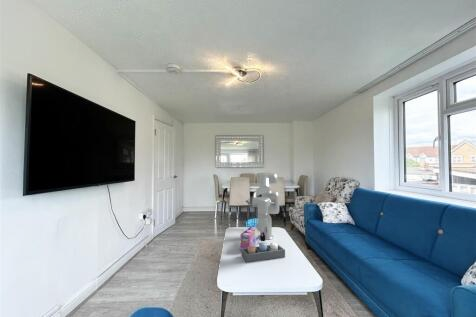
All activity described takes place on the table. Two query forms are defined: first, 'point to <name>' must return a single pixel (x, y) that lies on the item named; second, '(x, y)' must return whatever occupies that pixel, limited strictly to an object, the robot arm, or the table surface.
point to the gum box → (250, 237)
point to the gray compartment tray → (262, 254)
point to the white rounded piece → (273, 246)
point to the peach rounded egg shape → (251, 249)
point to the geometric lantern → (252, 215)
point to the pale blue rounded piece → (263, 247)
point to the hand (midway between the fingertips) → (262, 240)
